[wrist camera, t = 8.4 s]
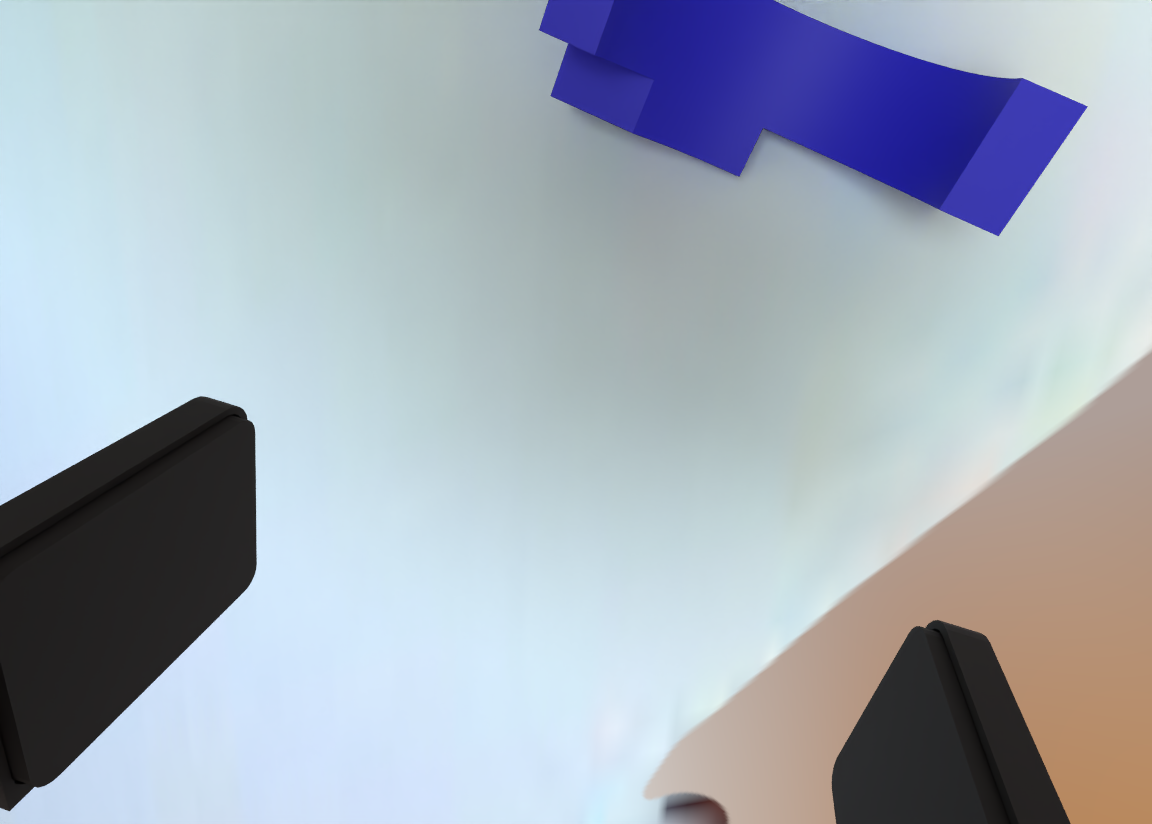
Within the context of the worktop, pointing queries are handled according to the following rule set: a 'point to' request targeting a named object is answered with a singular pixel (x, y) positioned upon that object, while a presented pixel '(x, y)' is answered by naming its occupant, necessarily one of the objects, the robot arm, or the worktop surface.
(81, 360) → the worktop surface
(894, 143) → the cable clip
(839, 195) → the worktop surface
